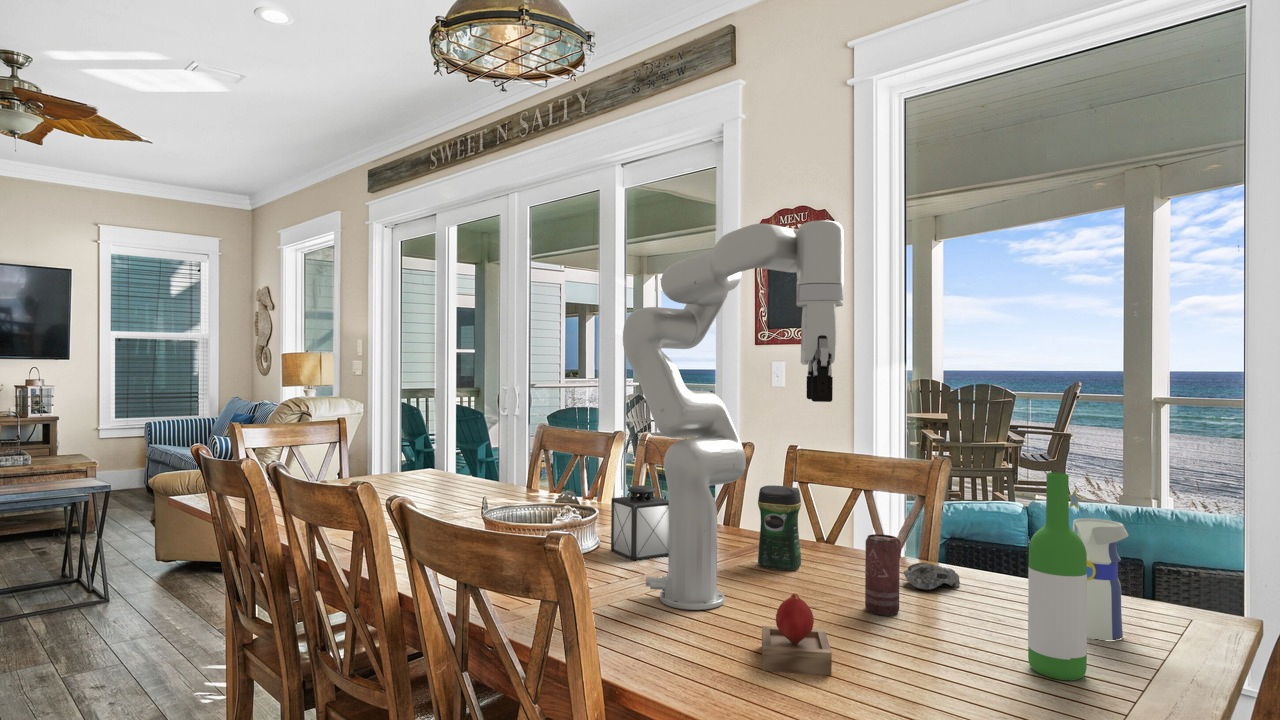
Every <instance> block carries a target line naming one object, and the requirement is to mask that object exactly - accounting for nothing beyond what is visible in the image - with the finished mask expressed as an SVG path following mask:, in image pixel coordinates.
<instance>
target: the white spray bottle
mask: <svg viewBox="0 0 1280 720" xmlns="http://www.w3.org/2000/svg"><path fill="white" fill-rule="evenodd" d="M1069 499H1070V501H1069V502H1070V503H1069V508H1072V507H1075V508H1076V510H1079V508H1080V507H1079V501H1081V500H1082V499H1083V498H1082V497H1080V496H1079V495H1078V494H1077V490H1076V489H1074V490H1073V492H1072V494H1069ZM1072 522H1073V523H1072V530H1073V531H1074V532H1075V533H1076V534H1077V535H1078V536H1079V537H1080V538H1081V540H1082V542H1083V544H1084V546H1085V549H1086V553H1087V639H1090V638H1091V640H1094V639H1099V640H1098V641H1100V640H1116V639H1120V638H1122V637H1123V638H1124V634H1123V618H1122V617H1123V616H1122V615H1123V614H1122V586H1121V582H1120V580H1119V562H1121V561H1122V559H1121V557H1120V556H1119V554H1118V550H1117V545H1118V544H1117V543H1118V542H1120V541H1122V540H1124V539H1126V538H1128V537H1129V533H1128V531H1127V530H1126V528H1125V525H1124V524H1123V523H1122V522H1118V521H1114V520H1110V519H1109V520H1108V519H1103V518H1087V517H1086V518H1076V519H1073V521H1072Z"/></svg>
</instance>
